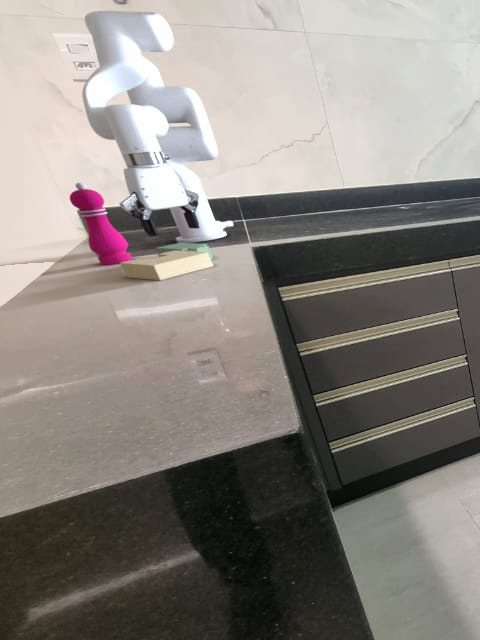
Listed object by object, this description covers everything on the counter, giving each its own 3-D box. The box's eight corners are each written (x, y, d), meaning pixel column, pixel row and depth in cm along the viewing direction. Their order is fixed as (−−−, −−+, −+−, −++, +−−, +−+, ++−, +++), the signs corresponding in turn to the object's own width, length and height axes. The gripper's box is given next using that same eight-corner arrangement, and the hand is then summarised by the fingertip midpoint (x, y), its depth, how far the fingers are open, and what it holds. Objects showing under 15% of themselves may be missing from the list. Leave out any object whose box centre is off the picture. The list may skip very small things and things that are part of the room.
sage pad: (186, 255, 143) (180, 242, 141) (219, 257, 139) (214, 244, 137) (161, 261, 138) (156, 247, 136) (195, 263, 134) (190, 249, 132)
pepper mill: (112, 265, 135) (73, 184, 127) (91, 265, 137) (50, 185, 128) (141, 258, 142) (106, 180, 133) (120, 258, 143) (84, 181, 134)
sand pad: (180, 263, 134) (175, 250, 133) (213, 266, 130) (207, 252, 129) (126, 277, 124) (119, 262, 122) (160, 280, 120) (153, 265, 119)
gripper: (173, 158, 137) (200, 225, 144) (92, 164, 122) (126, 238, 129) (193, 157, 134) (218, 225, 141) (113, 163, 119) (146, 239, 127)
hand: (174, 231), depth 135 cm, fingers open, 9 cm apart
